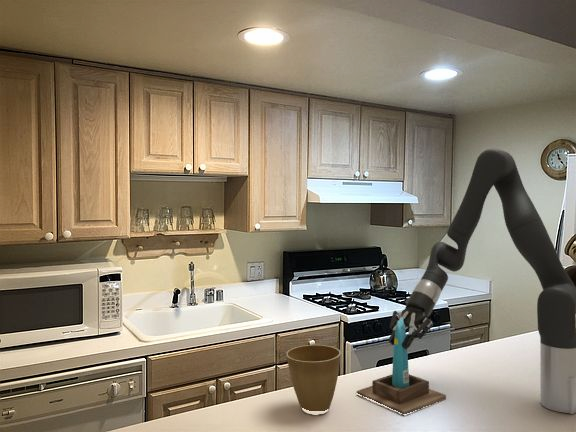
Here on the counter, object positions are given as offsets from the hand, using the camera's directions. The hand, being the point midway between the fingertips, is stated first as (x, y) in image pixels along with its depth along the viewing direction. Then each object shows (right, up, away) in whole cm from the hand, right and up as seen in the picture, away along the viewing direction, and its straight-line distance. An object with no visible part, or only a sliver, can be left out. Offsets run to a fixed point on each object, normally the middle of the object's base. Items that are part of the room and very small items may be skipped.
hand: (397, 345), depth 139 cm
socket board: (+1, -15, +1) cm, 15 cm away
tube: (+1, -12, +1) cm, 12 cm away
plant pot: (-24, -16, -6) cm, 30 cm away
